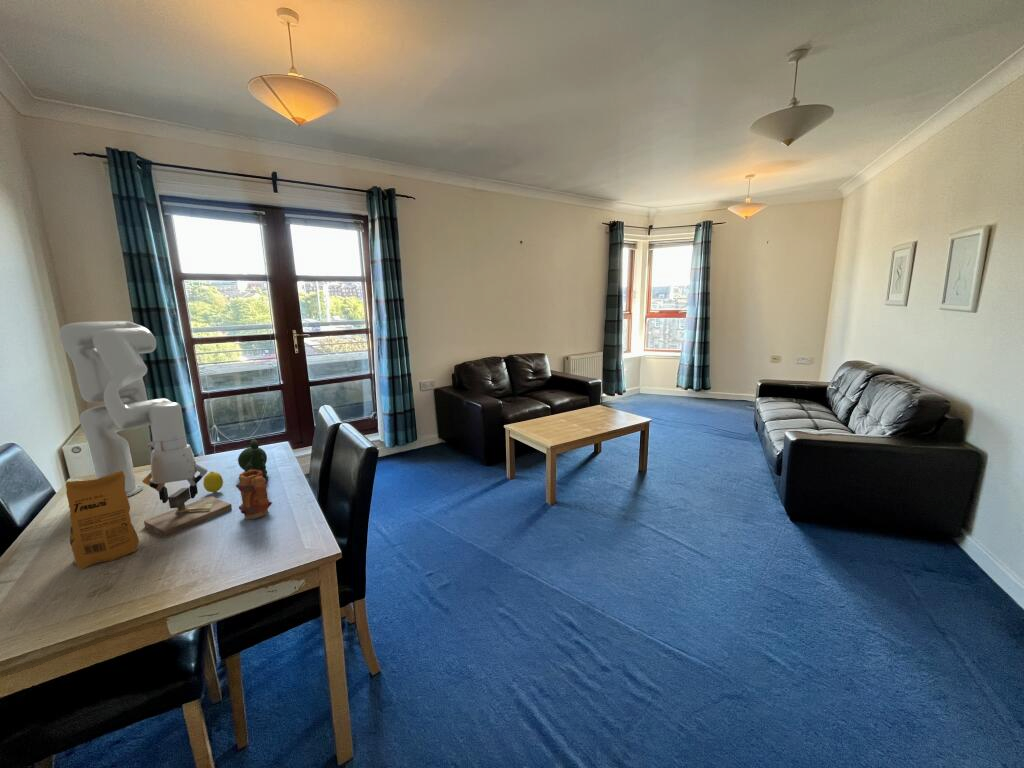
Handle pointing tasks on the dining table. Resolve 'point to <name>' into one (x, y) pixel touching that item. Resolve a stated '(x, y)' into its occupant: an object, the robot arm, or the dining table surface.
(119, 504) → the coffee package
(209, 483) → the lemon
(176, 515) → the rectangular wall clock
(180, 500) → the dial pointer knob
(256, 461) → the toy figurine
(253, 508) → the orange lumpy cylinder
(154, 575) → the dining table surface
